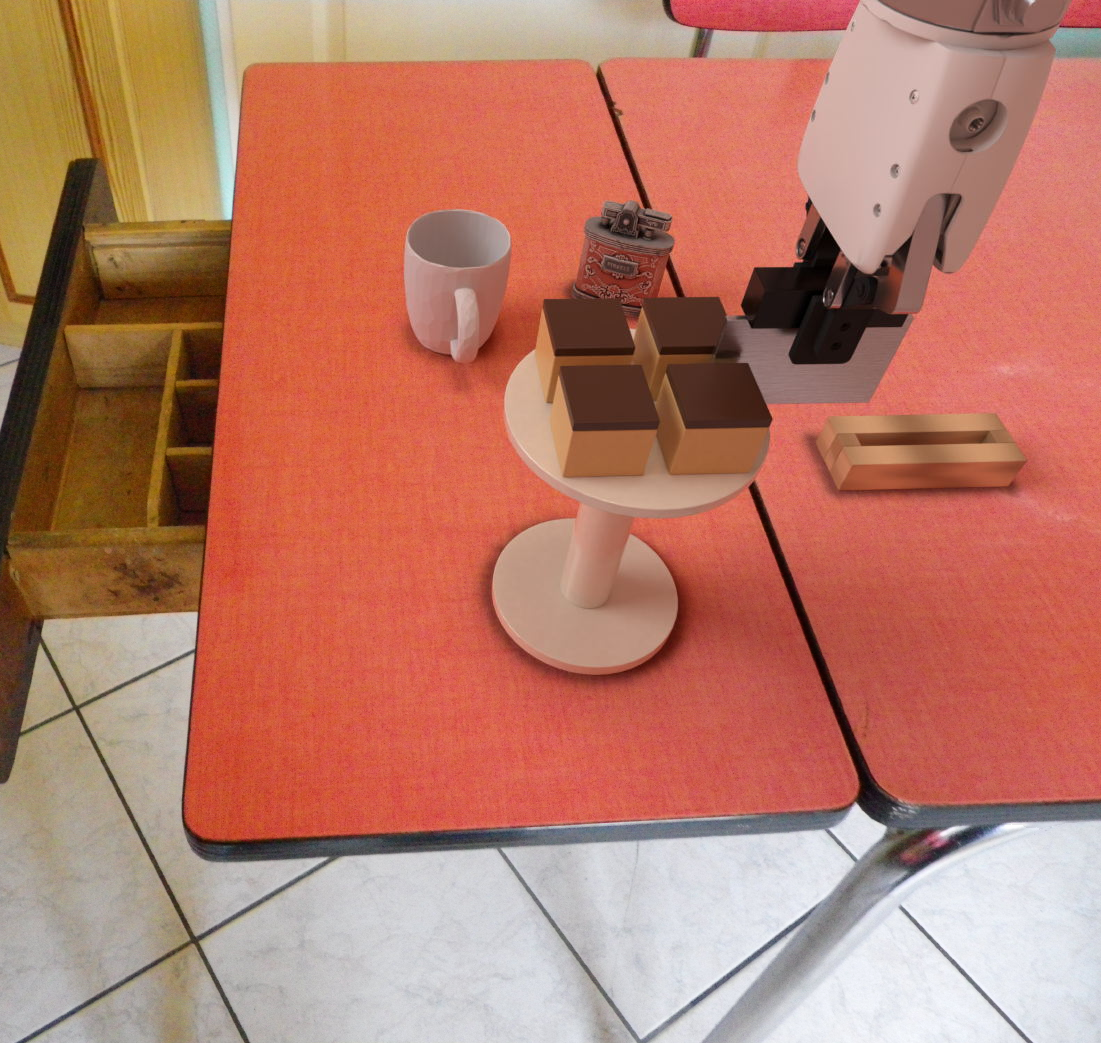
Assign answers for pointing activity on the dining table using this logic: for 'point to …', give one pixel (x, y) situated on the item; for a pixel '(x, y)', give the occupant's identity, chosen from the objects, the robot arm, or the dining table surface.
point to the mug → (455, 279)
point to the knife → (773, 327)
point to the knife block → (919, 451)
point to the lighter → (624, 255)
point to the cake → (646, 388)
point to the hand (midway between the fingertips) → (809, 341)
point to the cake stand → (594, 549)
